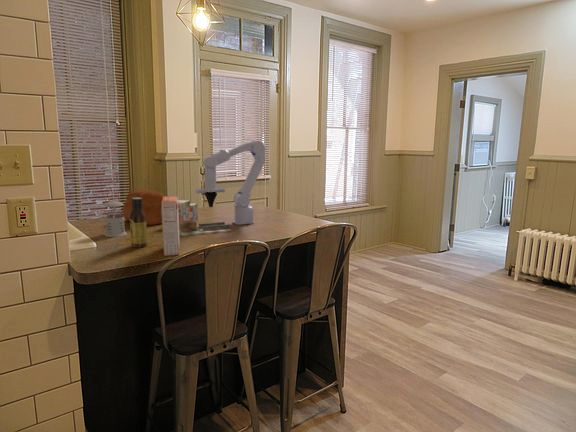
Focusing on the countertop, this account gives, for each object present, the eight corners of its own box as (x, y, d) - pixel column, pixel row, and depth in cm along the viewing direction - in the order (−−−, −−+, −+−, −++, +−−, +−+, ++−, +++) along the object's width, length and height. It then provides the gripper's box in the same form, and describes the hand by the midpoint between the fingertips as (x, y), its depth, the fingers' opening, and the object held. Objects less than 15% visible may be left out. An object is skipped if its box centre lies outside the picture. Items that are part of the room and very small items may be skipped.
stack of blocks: (187, 219, 225) (186, 197, 222) (197, 220, 223) (197, 197, 221) (168, 227, 204) (168, 203, 202) (180, 228, 203) (180, 203, 201)
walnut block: (193, 228, 197) (193, 220, 197) (196, 230, 193) (196, 222, 193) (179, 230, 194) (179, 221, 193) (181, 232, 190) (181, 223, 189)
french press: (104, 237, 180) (101, 180, 176) (102, 232, 191) (99, 178, 186) (128, 235, 185) (125, 180, 180) (125, 230, 195) (122, 177, 191)
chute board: (221, 226, 209) (221, 224, 209) (231, 231, 197) (231, 230, 197) (174, 230, 198) (174, 228, 197) (181, 236, 186) (181, 234, 185)
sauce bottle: (133, 244, 170) (131, 196, 167) (149, 244, 171) (147, 196, 167) (129, 248, 164) (126, 198, 160) (145, 248, 164) (142, 199, 161)
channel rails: (224, 225, 206) (223, 221, 206) (229, 228, 200) (229, 224, 199) (198, 227, 200) (198, 223, 200) (203, 231, 193) (203, 226, 193)
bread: (143, 227, 203) (142, 193, 200) (120, 221, 216) (118, 189, 213) (173, 222, 216) (172, 190, 213) (149, 217, 229) (148, 187, 226)
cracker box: (164, 247, 167) (162, 196, 163) (180, 246, 168) (178, 195, 165) (162, 256, 154) (160, 201, 150) (179, 255, 155) (177, 200, 151)
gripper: (198, 181, 200) (199, 208, 203) (226, 180, 207) (227, 207, 210) (194, 180, 206) (195, 206, 209) (222, 179, 213) (222, 205, 216)
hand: (210, 206), depth 210 cm, fingers closed
